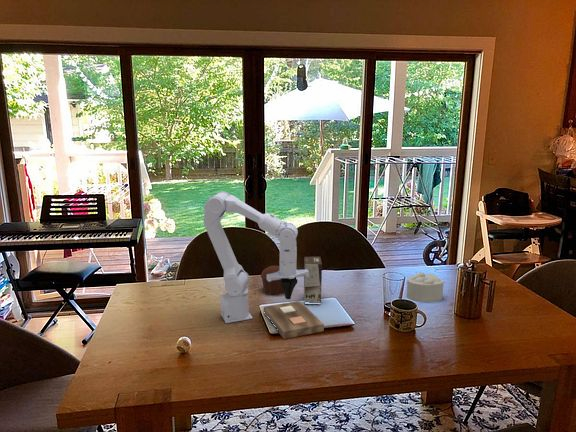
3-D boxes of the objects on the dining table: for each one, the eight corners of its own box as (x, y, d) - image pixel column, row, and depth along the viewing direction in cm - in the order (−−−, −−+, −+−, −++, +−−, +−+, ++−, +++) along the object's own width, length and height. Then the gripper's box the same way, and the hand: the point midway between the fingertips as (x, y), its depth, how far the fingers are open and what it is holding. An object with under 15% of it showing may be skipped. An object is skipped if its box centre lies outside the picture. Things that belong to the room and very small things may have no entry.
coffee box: (321, 305, 167) (322, 264, 163) (304, 305, 167) (304, 263, 163) (320, 295, 176) (320, 256, 172) (303, 295, 176) (304, 256, 172)
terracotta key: (293, 330, 147) (293, 323, 146) (288, 325, 151) (288, 318, 150) (306, 328, 148) (306, 321, 148) (300, 322, 152) (301, 316, 152)
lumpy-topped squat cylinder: (445, 301, 171) (447, 279, 169) (413, 303, 168) (414, 281, 166) (432, 290, 181) (433, 270, 179) (401, 292, 178) (402, 272, 176)
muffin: (256, 294, 177) (256, 270, 175) (266, 284, 187) (265, 261, 185) (285, 297, 174) (285, 273, 171) (293, 287, 184) (293, 264, 182)
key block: (283, 339, 142) (283, 331, 142) (263, 313, 160) (263, 306, 160) (323, 331, 147) (323, 324, 147) (299, 307, 165) (299, 300, 165)
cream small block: (284, 319, 155) (283, 312, 154) (279, 314, 159) (279, 307, 158) (295, 317, 157) (295, 310, 156) (291, 312, 161) (291, 305, 160)
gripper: (271, 266, 144) (271, 305, 147) (312, 261, 149) (311, 299, 152) (264, 259, 151) (264, 297, 154) (304, 255, 156) (303, 291, 159)
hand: (287, 298), depth 153 cm, fingers closed
